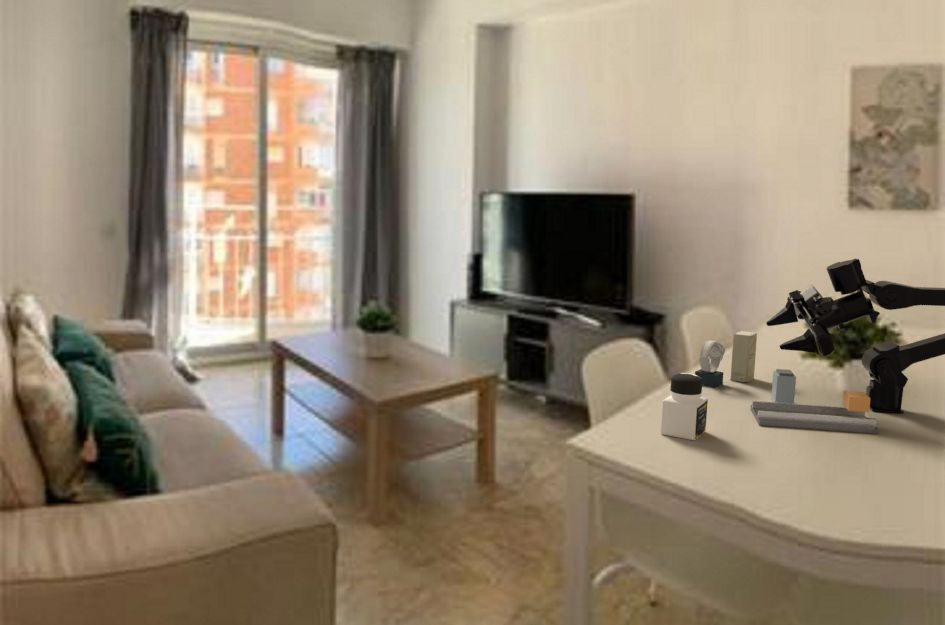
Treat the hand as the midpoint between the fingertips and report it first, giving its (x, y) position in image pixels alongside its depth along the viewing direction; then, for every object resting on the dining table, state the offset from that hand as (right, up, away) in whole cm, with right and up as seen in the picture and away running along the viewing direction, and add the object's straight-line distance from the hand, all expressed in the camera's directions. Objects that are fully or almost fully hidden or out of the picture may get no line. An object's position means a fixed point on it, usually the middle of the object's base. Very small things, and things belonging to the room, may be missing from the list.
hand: (773, 335), depth 181 cm
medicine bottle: (-26, -19, -21) cm, 39 cm away
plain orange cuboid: (+12, -15, -14) cm, 24 cm away
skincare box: (+1, -12, +23) cm, 26 cm away
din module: (+3, -16, +1) cm, 16 cm away
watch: (-9, -13, +18) cm, 24 cm away
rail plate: (+4, -18, -12) cm, 22 cm away
